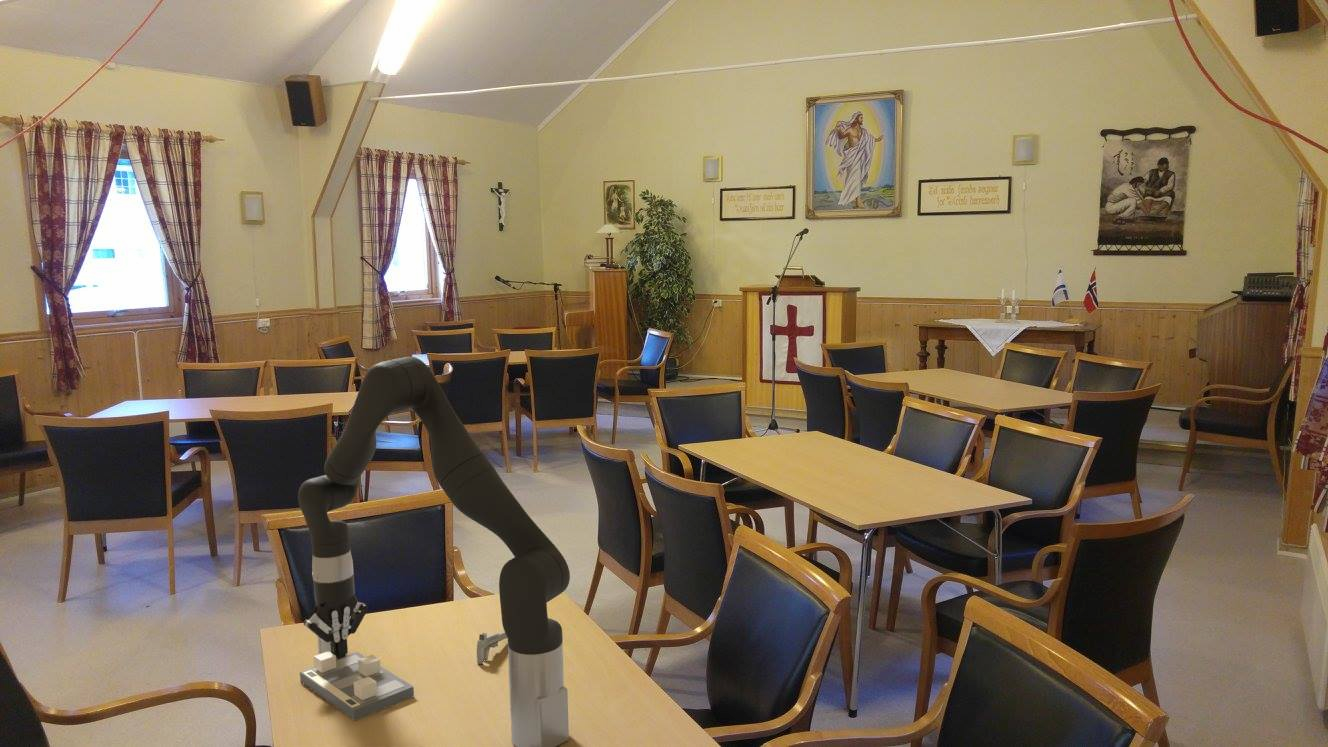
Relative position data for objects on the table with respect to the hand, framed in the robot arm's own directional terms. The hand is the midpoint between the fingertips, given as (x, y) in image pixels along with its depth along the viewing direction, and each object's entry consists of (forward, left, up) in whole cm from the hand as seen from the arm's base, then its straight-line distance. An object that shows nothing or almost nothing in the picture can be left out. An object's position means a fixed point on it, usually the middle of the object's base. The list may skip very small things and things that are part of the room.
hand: (340, 656), depth 179 cm
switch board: (-8, +1, -4) cm, 9 cm away
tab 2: (-16, +3, -1) cm, 16 cm away
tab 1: (0, +3, -1) cm, 3 cm away
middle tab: (-8, -2, -1) cm, 8 cm away
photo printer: (+11, -3, -4) cm, 12 cm away
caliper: (-13, -30, -4) cm, 33 cm away
